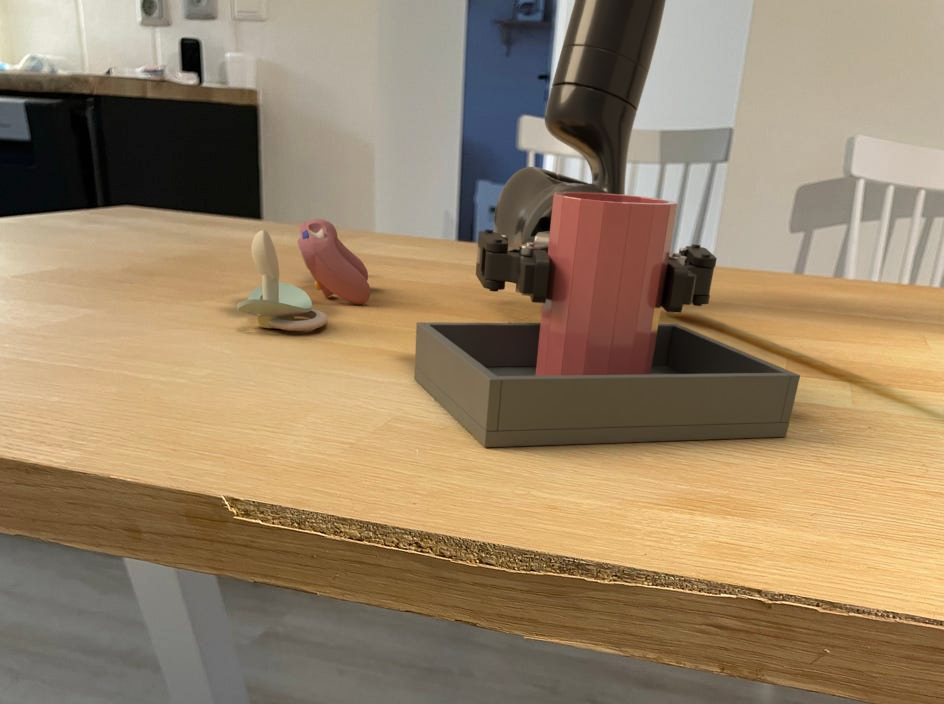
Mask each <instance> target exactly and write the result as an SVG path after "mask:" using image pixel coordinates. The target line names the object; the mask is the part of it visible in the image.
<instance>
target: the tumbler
mask: <svg viewBox="0 0 944 704" xmlns="http://www.w3.org/2000/svg"><path fill="white" fill-rule="evenodd" d="M677 210H678V203H677V202H676V201H673V200H669V199H662V198H657V197H649V196H641V195H632V194H625V195H622V194H610V193H595V192H554V195H553V205H552V215H551V225H550V235H549V245H548V256H549V258H550V266H549V277H548V286H547V296H546V302H545V303H541V304H542V305H541V315H540V323H541V324H540V334H539V344H538V354H537V364H536V374H535V376H557V375H641V374H651V368H652V361H653V355H654V349H655V342H656V336H657V330H658V324H660V316H661V310H662V307H661V305H662V298H663V292H664V286H665V279H666V273H667V267H668V260H669V254H670V253H671V247H672V243H673V242H672V241H673V235H674V230H675V229H674V228H675V222H676V215H677Z"/></svg>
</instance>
